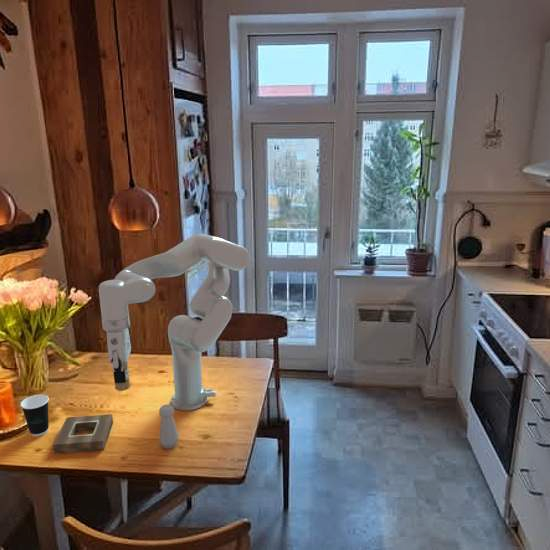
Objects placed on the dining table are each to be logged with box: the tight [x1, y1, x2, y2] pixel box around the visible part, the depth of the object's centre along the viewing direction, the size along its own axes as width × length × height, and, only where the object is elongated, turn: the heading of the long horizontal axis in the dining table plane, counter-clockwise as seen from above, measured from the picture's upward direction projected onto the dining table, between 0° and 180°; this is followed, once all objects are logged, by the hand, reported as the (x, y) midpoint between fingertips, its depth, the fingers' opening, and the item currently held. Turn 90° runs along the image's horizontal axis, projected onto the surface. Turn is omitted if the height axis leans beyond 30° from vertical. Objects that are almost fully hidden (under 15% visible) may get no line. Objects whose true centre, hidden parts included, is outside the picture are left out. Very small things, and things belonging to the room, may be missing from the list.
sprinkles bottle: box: [114, 359, 131, 392], centre depth 143 cm, size 5×5×14 cm
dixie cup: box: [19, 394, 50, 438], centre depth 148 cm, size 8×8×11 cm
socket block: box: [52, 413, 114, 455], centre depth 146 cm, size 14×14×3 cm
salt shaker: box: [158, 404, 179, 450], centre depth 142 cm, size 6×6×13 cm
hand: (121, 377), depth 144 cm, fingers closed on sprinkles bottle, 4 cm apart
